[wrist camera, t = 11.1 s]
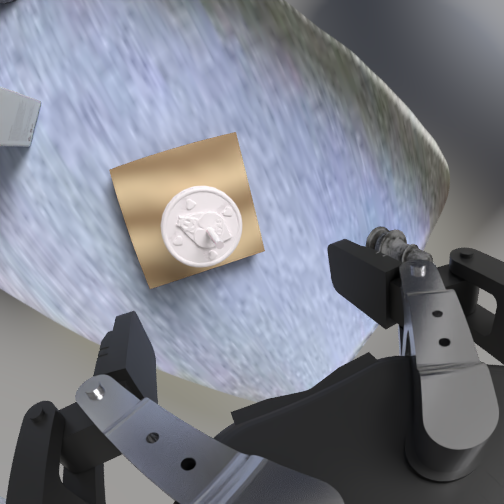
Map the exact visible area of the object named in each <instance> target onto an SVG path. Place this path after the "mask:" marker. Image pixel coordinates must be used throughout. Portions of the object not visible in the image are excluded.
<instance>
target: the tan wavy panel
mask: <svg viewBox="0 0 504 504" xmlns="http://www.w3.org/2000/svg"><path fill="white" fill-rule="evenodd" d="M110 174H111V178H112V181H113V184H114V188H115V191H116V194H117V198H118V201H119V204H120V207H121V210H122V214H123V217H124V220H125V223H126V226H127V229H128V232H129V234H130V237H131V240H132V243H133V246H134V249H135V251H136V254H137V257H138V260H139V262H140V265H141V267H142V270H143V273H144V275H145V278H146V280H147V283H148V285H149V288H150V289H152V288H155V287H158V286H161V285H164V284H167V283H170V282H173V281H176V280H179V279H182V278H185V277H188V276H191V275H194V274H197V273H200V272H203V271H206V270H209V269H212V268H215V267H218V266H221V265H224V264H227V263H230V262H233V261H236V260H239V259H242V258H245V257H248V256H251V255H254V254H257V253H260V252H263V251H265V250H264V246H263V242H262V237H261V233H260V229H259V225H258V221H257V216H256V212H255V208H254V204H253V200H252V196H251V192H250V187H249V183H248V179H247V175H246V171H245V167H244V163H243V159H242V155H241V151H240V147H239V143H238V139H237V135H236V132H234V133H230V134H226V135H222V136H217V137H213V138H210V139H206V140H202V141H198V142H194V143H191V144H187V145H184V146H180V147H177V148H173V149H170V150H167V151H163V152H160V153H157V154H154V155H151V156H148V157H145V158H142V159H139V160H136V161H133V162H130V163H127V164H124V165H121V166H118V167H116V168H113V169H110ZM193 186H209V187H214V188H216V189H218V190H220V191H222V192H224V193H225V194H226V195H227V196H229V197H230V198H231V199H232V200H233V201H234V203H235V204H236V206H237V207H238V209H239V211H240V214H241V218H242V234H241V238H240V241H239V243H238V245H237V247H236V249H235V250H234V251H233V253H232V254H231V255H230V256H229V257H228V258H226V259H225V260H224V261H222V262H220V263H218V264H216V265H213V266H209V267H192V266H188V265H186V264H183V263H181V262H180V261H178V260H177V259H176V258H174V257H173V256H172V255H171V253H170V252H169V251H168V249H167V248H166V246H165V243H164V241H163V238H162V234H161V220H162V214H163V212H164V210H165V208H166V206H167V204H168V203H169V202H170V201H171V199H172V198H173V197H174V196H175V195H177V194H178V193H180V192H181V191H183V190H185V189H188V188H190V187H193Z"/></svg>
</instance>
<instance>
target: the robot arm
mask: <svg viewBox="0 0 504 504" xmlns="http://www.w3.org/2000/svg"><path fill="white" fill-rule="evenodd" d="M11 1H13V0H0V3H8V2H11ZM328 258H329V265H330V272H331V279H332V283H333V286H334V288H335V290H336V291H337V292H338V293H339V294H340V295H342V296H343V297H344V298H346V299H347V300H348V301H350V302H351V303H352V304H353V305H355V306H356V307H357V308H359V309H360V310H361V311H363V312H364V313H365V314H366V315H368V316H369V317H370V318H372V319H373V320H374V321H375V322H377V323H378V324H379V325H381V326H382V327H383V328H385V329H388V328H389V327H391V326H393V325H395V324H396V323H398V324H399V329H398V336H399V353H400V356H392V357H386V358H381V359H378V360H377V359H375V357H374V356H372V355H371V354H370V353H369V352H368V353H366V354H365V355H362V356H360V357H359V358H357V359H355V360H353V361H351V362H349V363H347V364H345V365H343V366H341V367H339V368H338V369H336V370H335V371H334V372H332V373H331V374H330V375H328V376H327V377H326V378H325V379H323V380H322V381H321V382H319V383H318V384H316V385H315V386H314V387H312V388H311V389H309V390H307V391H303V392H299V393H294V394H289V395H285V396H280V397H275V398H270V399H266V400H263V401H261V402H258V403H255V404H253V405H250V406H247V407H244V408H242V409H239V410H236V411H233V412H231V414H232V417H233V420H234V423H233V424H231V425H230V426H228V427H227V428H225V429H224V430H223V431H221V432H220V433H219V434H218V435H217V436H215V437H214V438H212V437H210V436H208V435H206V434H204V433H203V432H201V431H199V430H197V429H195V428H194V427H192V426H191V425H189V424H187V423H186V422H184V421H183V420H181V419H179V418H178V417H176V416H174V415H173V414H171V413H170V412H168V411H167V410H165V409H164V408H162V407H161V406H159V405H158V399H157V382H156V358H155V353H154V350H153V347H152V345H151V342H150V340H149V338H148V336H147V334H146V332H145V330H144V328H143V326H142V324H141V322H140V320H139V318H138V316H137V314H136V312H135V311H132V312H129V313H125V314H122V315H119V316H116V319H115V323H114V327H113V331H110V332H108V333H107V334H106V336H105V337H104V338H103V340H102V342H101V346H100V351H99V354H98V358H97V362H96V367H95V371H94V375H93V377H91V378H90V379H88V380H86V381H85V382H84V383H83V384H82V385H81V386H80V387H79V388H78V390H77V392H76V396H75V397H76V401H77V402H75V403H73V404H71V405H69V406H67V407H65V408H63V409H61V410H58V409H57V408H56V407H55V406H54V404H53V403H52V402H50V401H42V402H39V403H37V404H35V405H33V406H32V407H31V408H30V409H29V410H28V411H27V413H26V414H25V416H24V419H23V422H22V426H21V429H20V433H19V437H18V441H17V445H16V449H15V454H14V459H13V463H12V468H11V473H10V479H9V485H8V492H7V499H6V504H106V502H105V488H104V464H103V463H104V462H106V461H109V460H111V459H113V458H115V457H117V456H119V455H121V454H123V455H124V456H125V457H126V458H127V459H128V460H129V461H130V462H131V463H132V464H133V465H134V466H135V467H136V468H137V469H138V470H140V472H142V473H143V474H144V475H145V476H146V477H147V478H148V479H150V480H151V481H152V482H153V483H154V484H155V485H156V486H158V487H159V488H160V489H161V490H162V491H164V492H165V493H166V494H167V495H168V496H170V497H171V498H172V499H174V500H175V502H174V504H504V366H499V365H488V364H485V363H483V362H481V361H480V360H479V357H478V354H477V351H476V348H475V344H474V342H475V343H476V344H477V345H479V346H480V347H481V348H483V349H484V350H485V351H487V352H488V353H489V354H491V355H492V356H493V357H495V358H496V359H497V360H498V361H500V362H501V363H502V364H504V262H502V261H500V260H498V259H495V258H493V257H491V256H489V255H487V254H484V253H482V252H480V251H477V250H475V249H472V248H458V249H455V250H453V251H452V252H451V253H450V262H449V264H448V265H444V266H441V267H436V265H435V264H434V263H432V262H430V261H427V260H422V259H415V260H410V261H407V262H404V263H403V262H400V261H398V260H396V259H394V258H392V257H390V256H388V255H385V254H383V253H381V252H379V251H377V250H375V249H373V248H370V247H365V246H360V245H358V244H356V243H353V242H351V241H349V240H347V239H343V240H341V241H338V242H335V243H332V244H330V245H329V246H328ZM479 288H481V289H483V290H485V291H487V292H488V293H490V294H492V295H493V296H494V297H495V299H496V301H497V309H496V314H493V313H491V312H490V311H488V310H486V309H485V308H483V307H481V306H480V305H478V304H477V301H478V294H479ZM60 463H61V464H62V465H63V466H64V470H63V483H62V482H61V479H60V476H59V465H60Z"/></svg>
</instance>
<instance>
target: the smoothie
mask: <svg viewBox="0 0 504 504" xmlns="http://www.w3.org/2000/svg"><path fill="white" fill-rule="evenodd" d="M161 234H162V238H163V241H164V243H165V246H166V248H167V249H168V251H169V252H170V253H171V255H172V256H173V257H174V258H176V259H177V260H178V261H180V262H181V263H183V264H186V265H188V266H192V267H209V266H213V265H216V264H218V263H220V262H222V261H224V260H225V259H226V258H228V257H229V256H230V255H231V254H232V253H233V251H234V250H235V249H236V247H237V245H238V243H239V241H240V238H241V234H242V218H241V214H240V211H239V209H238V207H237V206H236V204H235V203H234V201H233V200H232V199H231V198H230V197H229V196H227V195H226V194H225V193H224V192H222V191H220V190H218V189H216V188H214V187H209V186H193V187H190V188H188V189H185V190H183V191H181V192H180V193H178V194H177V195H175V196H174V197H173V198H172V199H171V201H170V202H169V203H168V204H167V206H166V208H165V210H164V212H163V214H162V220H161Z"/></svg>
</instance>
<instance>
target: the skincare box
mask: <svg viewBox="0 0 504 504" xmlns="http://www.w3.org/2000/svg"><path fill="white" fill-rule="evenodd" d="M40 106H41V101H38V100H36V99H33V98H30V97H27V96H25V95H22V94H20V93H17V92H14V91H11V90H8V89H5V88H3V87H0V146H21V147H30V145H31V140H32V136H33V131H34V127H35V123H36V120H37V117H38V113H39V109H40Z"/></svg>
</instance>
